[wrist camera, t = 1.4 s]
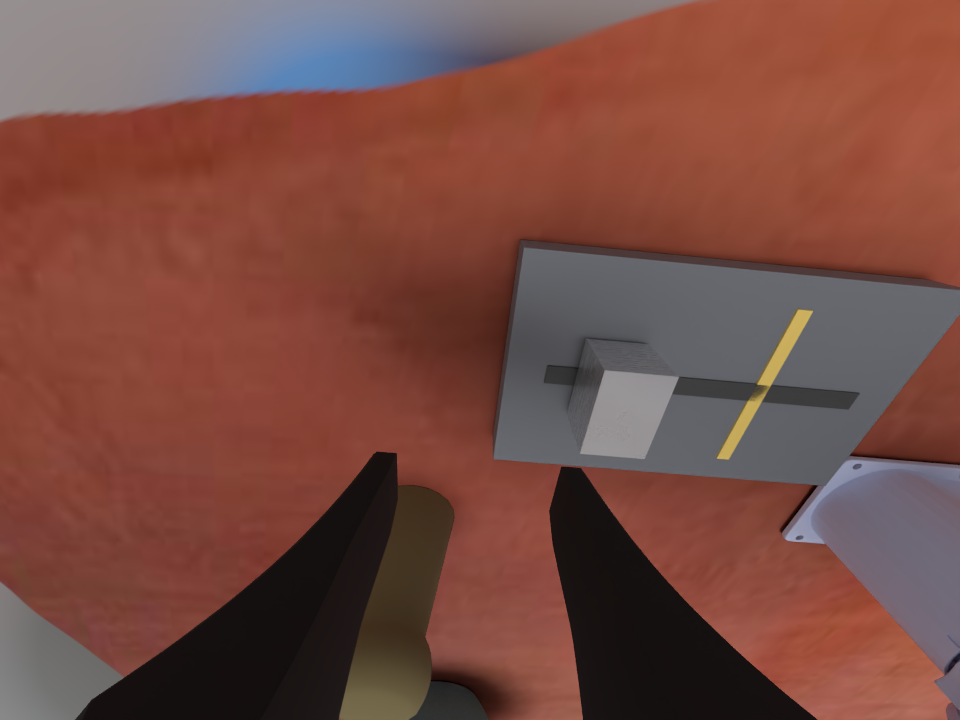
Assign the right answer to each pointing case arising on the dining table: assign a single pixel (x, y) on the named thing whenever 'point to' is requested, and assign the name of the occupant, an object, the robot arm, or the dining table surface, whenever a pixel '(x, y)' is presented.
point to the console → (715, 357)
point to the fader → (619, 398)
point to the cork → (400, 613)
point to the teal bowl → (450, 703)
